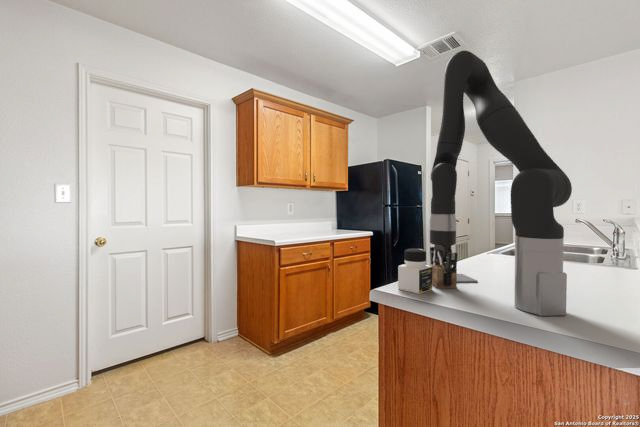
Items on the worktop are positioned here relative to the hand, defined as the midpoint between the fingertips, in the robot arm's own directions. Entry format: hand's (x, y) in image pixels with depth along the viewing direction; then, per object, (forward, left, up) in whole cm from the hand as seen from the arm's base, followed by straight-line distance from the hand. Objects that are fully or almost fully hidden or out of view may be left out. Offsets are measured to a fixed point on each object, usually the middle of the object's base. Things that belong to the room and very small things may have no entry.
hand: (442, 282), depth 92 cm
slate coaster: (+8, -8, -1) cm, 11 cm away
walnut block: (0, 0, -1) cm, 1 cm away
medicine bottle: (-4, +10, -1) cm, 11 cm away
